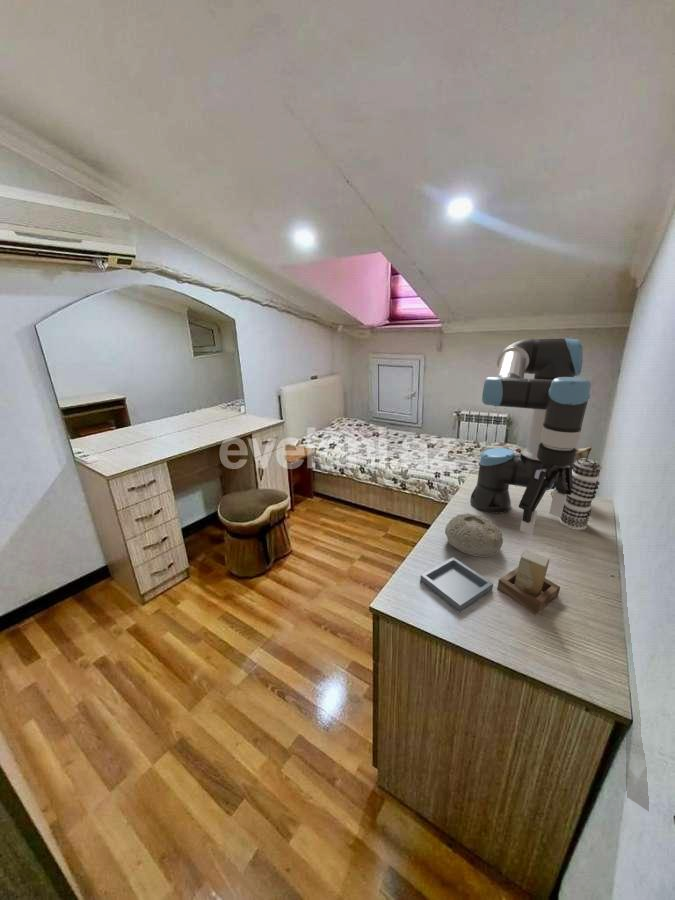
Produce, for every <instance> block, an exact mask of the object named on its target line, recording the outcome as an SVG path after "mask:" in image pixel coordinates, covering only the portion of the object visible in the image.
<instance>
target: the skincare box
mask: <svg viewBox="0 0 675 900" xmlns="http://www.w3.org/2000/svg"><path fill="white" fill-rule="evenodd" d="M519 559H520V560H519V563H518V566H517V567H518V571H517V575H516V579H515V583H514V585H515V586H517V587H518V588H520V589H521V590H523V591H525V592H526V593H528V594H529V595H531V596H532V597H534V598H537V597H538V596H539V595H541V594H542V591H541V590H542V587H543V583H544V579H545V578H546V575H547V572H548V568H549V565H550V562H551V561H550V560H551V559H550V558H549V557H546V556H543V555H541V554H538V553H536V552H534V551H531V550H528V549H524V551H523V552H522V554H521V556H520V558H519Z"/></svg>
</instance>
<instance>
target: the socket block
mask: <svg viewBox="0 0 675 900" xmlns="http://www.w3.org/2000/svg"><path fill="white" fill-rule="evenodd" d="M517 571H518V566H517V567H516V568H514V569H512V570H511V571H509V572H508V573H506V574H505V575H504V576H501V577H500V578H499V579H498V583H497V588H496V590H497V591H499V592H500V593H502V594H504V595H505V596H506V597H508V598H510V599H511V600H512V601H513V602H515V603H516V604H518V605H520V606H521V607H523V608H524V609H526V610H527V611H529V612H530V613H532V614H533V615H535V616H537V615H538V614H539V613H540V612H542V611H543V609H545V608H546V607H548V606H549V605H550V604H552V603H553V601H555V600H556V599H557V598H558V597H559V593H560V590H561V586H560V585H558V584H556V583H554V582H552V581H551V580H549V579H548V578H546V577H545V579H544V583H543V587H542V590H541V594H540V595H539V596H538V597H537V598H534V597H532V596H531V595H529V594H528V593H526V592H525V591H523V590H521V589H520V588H518V587H517V586H515V585H514V583H515V579H516V575H517Z"/></svg>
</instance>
